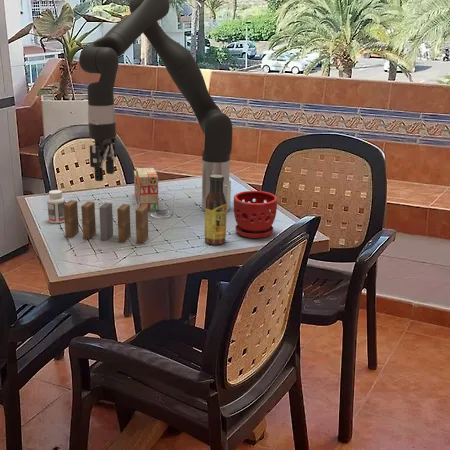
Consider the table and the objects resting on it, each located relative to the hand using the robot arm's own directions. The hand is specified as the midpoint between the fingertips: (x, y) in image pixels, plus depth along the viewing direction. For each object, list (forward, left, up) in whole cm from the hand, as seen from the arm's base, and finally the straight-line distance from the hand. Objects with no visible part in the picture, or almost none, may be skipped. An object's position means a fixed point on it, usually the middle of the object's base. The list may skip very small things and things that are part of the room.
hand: (104, 177), depth 188 cm
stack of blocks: (+1, -38, -19) cm, 43 cm away
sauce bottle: (-32, -4, -19) cm, 37 cm away
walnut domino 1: (+11, 0, -19) cm, 22 cm away
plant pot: (-42, -14, -19) cm, 48 cm away
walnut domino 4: (-11, 0, -19) cm, 21 cm away
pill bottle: (+21, -11, -19) cm, 30 cm away
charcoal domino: (0, 0, -19) cm, 19 cm away
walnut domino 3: (-5, 0, -19) cm, 19 cm away
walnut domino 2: (+6, 0, -19) cm, 19 cm away
